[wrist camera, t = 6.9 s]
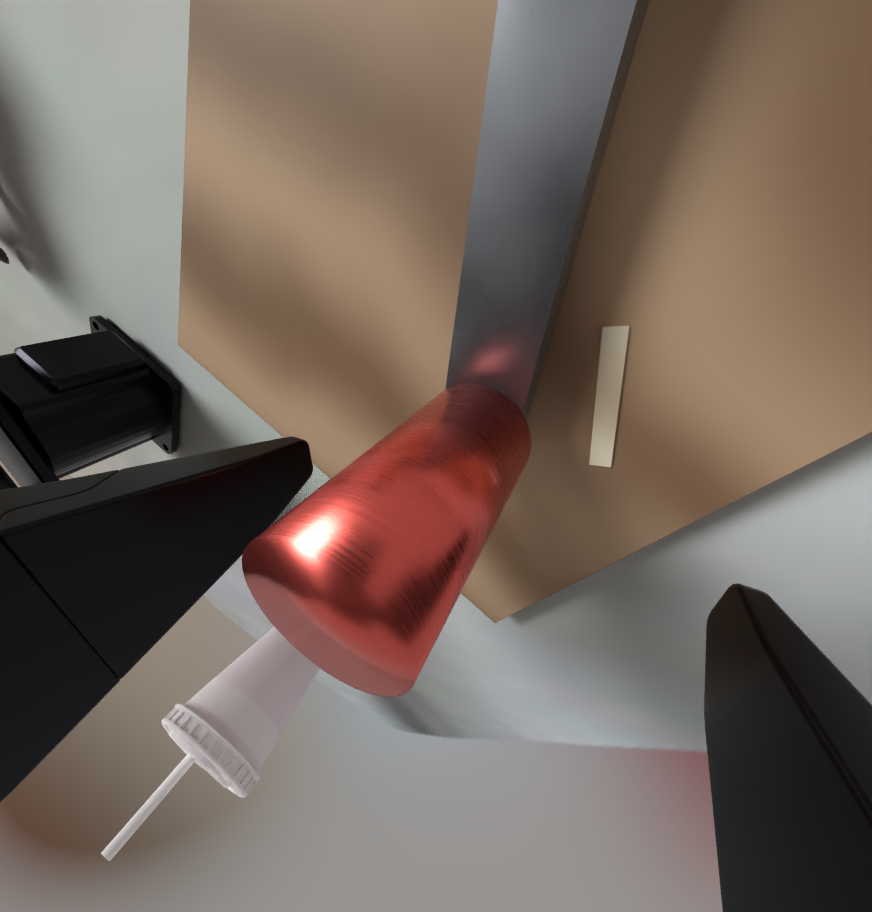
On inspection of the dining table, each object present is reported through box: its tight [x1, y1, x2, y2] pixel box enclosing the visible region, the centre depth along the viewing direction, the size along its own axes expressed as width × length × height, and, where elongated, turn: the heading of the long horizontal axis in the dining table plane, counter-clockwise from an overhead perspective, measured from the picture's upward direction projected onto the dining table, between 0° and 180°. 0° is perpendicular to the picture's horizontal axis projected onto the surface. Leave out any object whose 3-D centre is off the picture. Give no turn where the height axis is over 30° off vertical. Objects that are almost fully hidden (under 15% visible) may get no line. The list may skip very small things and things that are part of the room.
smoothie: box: [101, 627, 320, 861], centre depth 22 cm, size 6×6×14 cm
